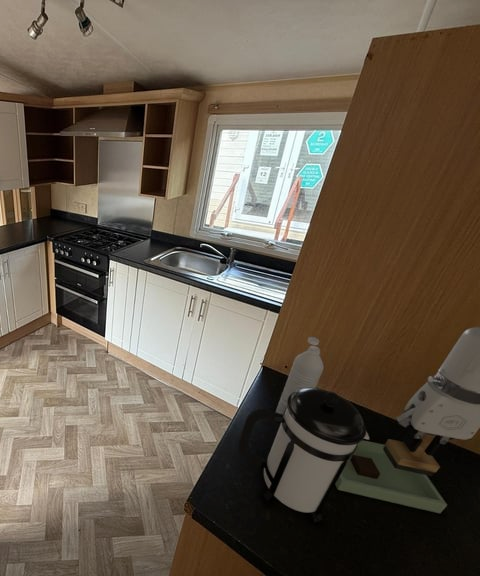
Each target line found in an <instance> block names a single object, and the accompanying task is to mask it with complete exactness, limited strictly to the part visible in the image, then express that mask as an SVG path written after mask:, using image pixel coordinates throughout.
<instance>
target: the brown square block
mask: <svg viewBox="0 0 480 576" xmlns="http://www.w3.org/2000/svg"><path fill="white" fill-rule="evenodd" d="M350 460H351V462H352V464H353V466H354V468H355V470H356V472H357V474H358V475H361V476H365V477H370V478H375V479H377V478H378V477H379V475H380V472H379V470H378V469H377V467H376V465H375V463H374V462H373V460H372V459H371V458H367V457H362V456H357V455H353V456H352V457H351V459H350Z"/></svg>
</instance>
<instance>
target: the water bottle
mask: <svg viewBox="0 0 480 576" xmlns="http://www.w3.org/2000/svg"><path fill="white" fill-rule="evenodd" d="M307 343H308V344H310V346H309V347H308V348H307V350H306V351H303V352H302V353H299V354H298V355H296V356H295V358H294V359H293V363H292V366H291V369H290V371H289V374H288V377H287V379H286V382H285V385H284V387H283V391H282V392H281V395H280V399H279V401H278V404H277V407H276V409H275V413H279V414H283V413H284V410H285V409H286V408H287V400H288V397H289V396H290V394H292V393H293V392H295V391H298V390H300V389H303V388H317V385H318V383H319V381H320V379H321V376H322V374H323V372H324V367H325V366H324V362H323V360H322V358H321V355H320V354H321V348H319V347H318V345H319V344H320V340H319V338H317V337H314V336H309V337H308V338H307ZM283 417H284V416H283Z"/></svg>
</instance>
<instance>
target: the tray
mask: <svg viewBox="0 0 480 576" xmlns="http://www.w3.org/2000/svg"><path fill="white" fill-rule="evenodd" d="M384 446H385V444H383V443H377V442H372V441H368V440H364V439H363V440H362V441H361V442H360V443H358V444H357V449H356V450H355V452H354V454H353V455H357V456H362V457H367V458H371V459H372V460H373V462H374V463H375V465H376V467H377V469H378V470H379V472H380V475H379V477H378V478H377V479H375V478H370V477H365V476H361V475H358V474H357V472H356V470H355V468H354V466H353V464H352V462H351V460H350V459H351V458H350V459H349V460H348V461H347V464H346V466H345V467H344V469H343V471H342V473H341V475H340V476H339V478H338V480H337V482H336V483H335V485H334V486H335V487H336V489H337V490H338V491H342V492H345V493H351V494H354V495H359V496H363V497H366V498H367V497H368V498H371V499H376V500H380V501H384V502H389V503H393V504H398V505H402V506H406V507H409V508H414V509H419V510H424V511H427V512H432V513H437V514H442V512H443V511H444V510H445V509H446V507H448V504H447V503H446V501H445V500H444V498H443V497H442V495H441V494H440V492H439V491H438V490H437V488H436V487H435V485H434V484H433V482H432V481H431V480H430V478H429V476H428V475H423V474H419V473H414V472H410V471H405V470H400V469H396V468H394V466H393V465H392V463H391V461H390V460H389V458H388V457H387V455H386V453H385V452H384V450H383V448H384ZM353 455H352V456H353Z"/></svg>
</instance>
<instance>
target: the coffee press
mask: <svg viewBox="0 0 480 576" xmlns="http://www.w3.org/2000/svg"><path fill="white" fill-rule="evenodd" d="M283 416H284V417H283ZM260 420H270V421H276V422H279V423H280V424H279V427H278V430H277V433H276V436H275V438H274V440H273V443H272V446H271V449H270V451H269V452H268V454H267V456H266V457H262V456H260V455H257V454H255V453H253V452H251V450H250V449H249V447H248V444H249V442H250V438H251V436H252V432H253V430H254V427H255V424H256V423H257V422H258V421H260ZM362 440H363V441H364V440H366V441H368V440H370V436H369V433H368V432H367V428H366V424H365V422H364V419H363V417H362V415H361V413H360V411H359V410H358V409H357V408H356V407H355V406H354V405H353V404H352V403H351V402H350V401H348V400H347V399H346V398H344V397H343V396H342V395H341V396H340V395H339V394H337V393H335V392H333V391H330V390H327V389H325V388H318V387H316V388H303V389H300V390H298V391H295V392H293V393H292V394H290V396H289V397H288V400H287V408H286V409H285V410H284V413H283V414H279V413H276V411H274V410H271V409H265V408H260V409H256V410H253V411H251V412H250V413H249V414H248V415H247V417H246V419H245V421H244V424H243V427H242V430H241V433H240V437H239V443H238V449H239V452H240V454H241V455H242V456H243V457H244V459H246V460H247V461H250V462H252V463H254V464H256V465H258V466H261V468H263V479H264V482H265V484H266V486H267V488H268V490H267V491H265V492H264V493H263V495H262V499H263V500H264V501H265V502H266V504H270V503H271V502H273V501H274V500H275V499H277V500H278V501H279V502H280V503H282V504H283V505H284V506H287V507H288V508H290V509H292V510H294V511H297V512H301V513H309V516H310V517H311V518H310V519H311V520H312V522H313V523H314V524H315V525H319V524H322V523H323V522H324V518H323V515H322V509H323V507H324V505H325V503H326V502H327V500H328V498H329V496H330V494H331V492H332V491H333V489H334V487H335V486H336V485H335V483H336V482H337V480H338V478H339V476H340V475H341V473H342V471H343V469H344V467H345V466H346V464H347V461H348V460H349V459H350V458H351V457H352V455H353V454H354V452H355V450H356V449H357V444H358V443H360V442H361V441H362Z"/></svg>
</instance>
